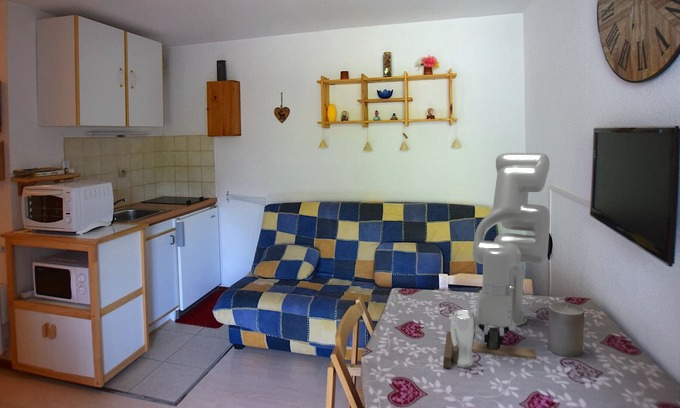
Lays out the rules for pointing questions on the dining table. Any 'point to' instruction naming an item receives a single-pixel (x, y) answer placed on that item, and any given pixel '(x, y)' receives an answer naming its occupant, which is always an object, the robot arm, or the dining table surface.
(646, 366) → the dining table surface
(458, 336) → the beer glass
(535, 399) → the dining table surface
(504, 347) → the brown wooden bent piece
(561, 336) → the pillar candle
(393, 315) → the dining table surface
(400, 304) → the dining table surface
